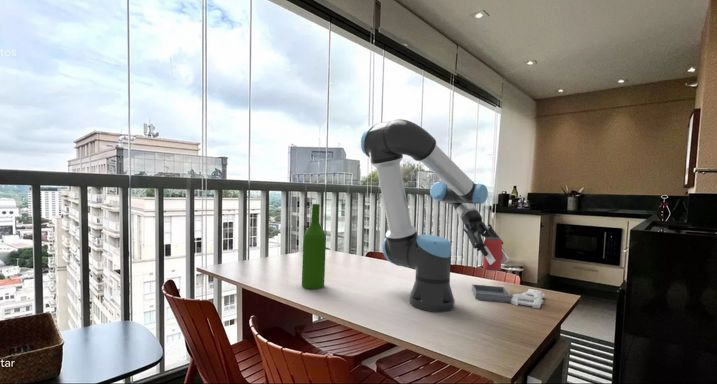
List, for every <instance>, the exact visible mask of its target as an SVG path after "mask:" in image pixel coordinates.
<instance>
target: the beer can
mask: <svg viewBox="0 0 717 384" xmlns="http://www.w3.org/2000/svg"><path fill="white" fill-rule="evenodd" d="M500 239H501V238H500V237H499V238H497V237H484V239H483V244H484V247H485V246H487V248H488V249H489V251H490V253H491V254H492V256H493V257H494V259H495V260H496V261H495V262H494V263H493V264H492V265H490V264H489V263H488V261H487V259H486V258H485V256H484V255H483V254H482V256H483V257H482V268H483V269H484V270H487V271H493V272H497V271H500V270H502V260H501V259H502V248H503V244H502V242H503V241H502V242H501V240H502V239H501V240H500Z"/></svg>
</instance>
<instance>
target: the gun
mask: <svg viewBox="0 0 717 384" xmlns="http://www.w3.org/2000/svg"><path fill="white" fill-rule="evenodd" d="M545 296H546V293H544V291H541V290H539V289H532V288H528V290H527V291H526V292H525V291H523V293H514V294H513V295H511V303H510V304H512V305H515V306H516V307H518V306H520V305H521V306H527V307H532V309H541V306H542V304H544V303H545V302H544V299H543V298H544V297H545Z"/></svg>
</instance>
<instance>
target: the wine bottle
mask: <svg viewBox="0 0 717 384" xmlns="http://www.w3.org/2000/svg"><path fill="white" fill-rule="evenodd" d="M320 208H321V207H320V204H319V203H312V204H311V223H310V224H309V226H308V227H307V229H306V230H305V231H304V235H303V237H302V238H303V240H302V241H303V243H302V262H301V263H302V265H301V270H302V271H301V286H302V288H304V289H307V290H319V289H322V288H324V287H325V279H326V278H325V277H326V276H325V275H326V272H325V271H326V251H327V250H326V249H327V248H326V245H327V237H326V236H327V235H326V233H325V231H324V229H323V227H322V226H321V224H320Z"/></svg>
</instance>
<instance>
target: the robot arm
mask: <svg viewBox="0 0 717 384" xmlns="http://www.w3.org/2000/svg"><path fill="white" fill-rule="evenodd" d="M360 147H361V151H362V152H363V154H365V156H366V157H368V158H369V159H370V164H371V165H372V166H373V167H374V168H375V169H376V173H377V178H378V183H379V187H380V188H379V189H380V192H381V193H380V194H381V198H382V202H383V208H384V212H385V218H386V223H387V227H388V230H387V231H386V233H385V237H384V239H383V243H382V253H383V255H384V258H385V260H386V261H388V262H389V263H391V264H393V265H396V266H399V267H403V268H407V269H412V270H414V271H415V281H414V283H413V286H412V289H411V291H410V294H409V304H410V306H411V307H414V308H416V309H420V310H423V311H428V312H440V313H441V312H447V311H448V312H449V311H452V310H453V309H454V308H455V298H454V295H453V291H452V287H451V264H452V263H451V259H452V251H451V250H452V247H451V246H452V245H451V244H452V243H450V241H449V240H448V239H447V238H444V237H442V236H438V235H433V234H419V235H418V230H417V228H416V227H415V226H413V225H412V222H411V221H412V220H411V216H410V212H409V205H408V201H407V200H408V199H407V195H406V189H405V184H404V179H403V173H402V168H401V164H400V163H401V161H402V160H403V159H404V157H403V156H404V155H405V156H408V157H410V158H412V160H415V161H416V162H420V163H422V164H423V165H424V166H426V169H427V168H428V169H429V170H430V171H431V172H432V173H433V174H434V175H435V176H436V177H437V178H438V179H439V180H441V181H436V182H433V184H432V185H431V187H430V191H429V192H430V193H429V194H430V197H432V199H433V200H437V202H442V203H445V204H449V205H451V206H452V207H453V209H454V210H455V212H456V213H457V215H458V216H459V219H461V222H462V223H463V225H464V227H463V228H462V230H463V231H464V232H465V234H466V236H467V238H468V239H469V241H470V243H471V245H472V247H473V248H474V250H477V252H481V254H482V256H483V255H484V256H485V258H486V259H487V261H488V263H489V264H490V265H492V264H493V263H494V262H495V261H496V260H495V259H494V257H493V256H492V254H491V253H490V251H489V249H488V248H487V246H485V247H484V239H483V238H485V237H497V238H500V236H499V235H498V234H497V232H496V231H495V230H494V229H493V226H492V225H491V224H486V223H485V222H484V221H483V217H482V215H481V214H480V212H479V210H478V209H477V208H476V206H475V205H476V204H479V205H480V204H484V203H485V202H486V201H487V199H488V196H489V195H488V194H489V192H488V188H487V186H486V185H485V184H483V183H475V182H474V181H473V180H472V179H471V178H470V177H469V176H468V175H467V174H466V173H465V172H464V171H463V170H462V169H461V168H460V167H459V166H458V165H457V164H456V163H455V162H454V161H453V160H452V158H450V157H449V156H448V154H446V153H445V152H444V151H443V150H442V149H441V148H440V147H439V146H438V145H437V140H436V139H435V137H434V136H432V135H431V134H430V133H429V132H428V131H427V130H426V129H425V128H423V127H422V126H420V125H418V124H417V123H415V122H412V121H410V120H408V119H401V118H400V119H394V120H390V121H384V122H377V123H375V124H372V125H369V126H367V127H366V128H365V129H364V131H363V133H362V134H361V137H360ZM482 237H483V238H482ZM500 240H501V242H502V245H504V241H503V240H502V239H500ZM508 261H510V258H509V256H508V255H507V254H506V252H505V250H504V248H503V247H502V259H501V263H502V264H506V263H507V262H508Z"/></svg>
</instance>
